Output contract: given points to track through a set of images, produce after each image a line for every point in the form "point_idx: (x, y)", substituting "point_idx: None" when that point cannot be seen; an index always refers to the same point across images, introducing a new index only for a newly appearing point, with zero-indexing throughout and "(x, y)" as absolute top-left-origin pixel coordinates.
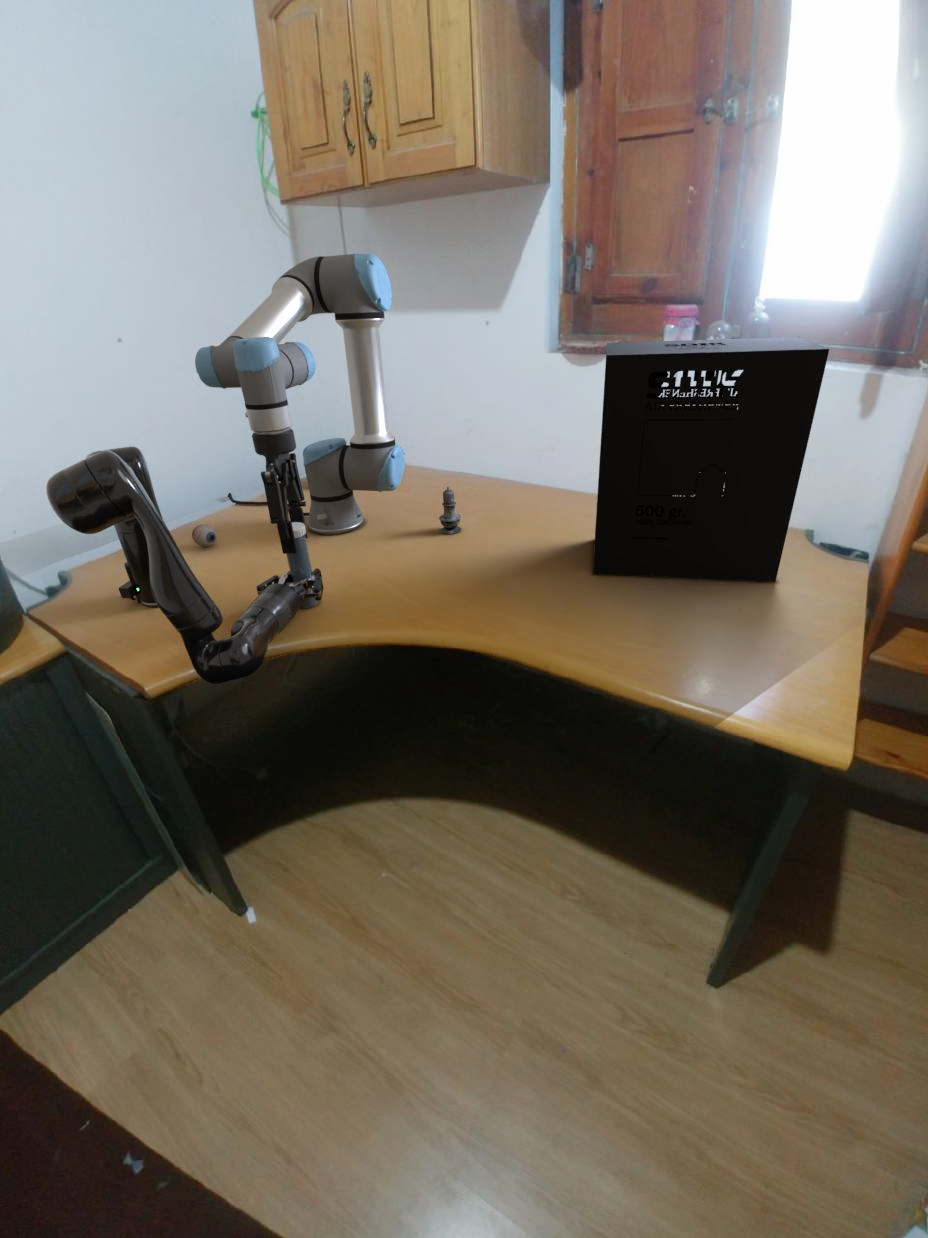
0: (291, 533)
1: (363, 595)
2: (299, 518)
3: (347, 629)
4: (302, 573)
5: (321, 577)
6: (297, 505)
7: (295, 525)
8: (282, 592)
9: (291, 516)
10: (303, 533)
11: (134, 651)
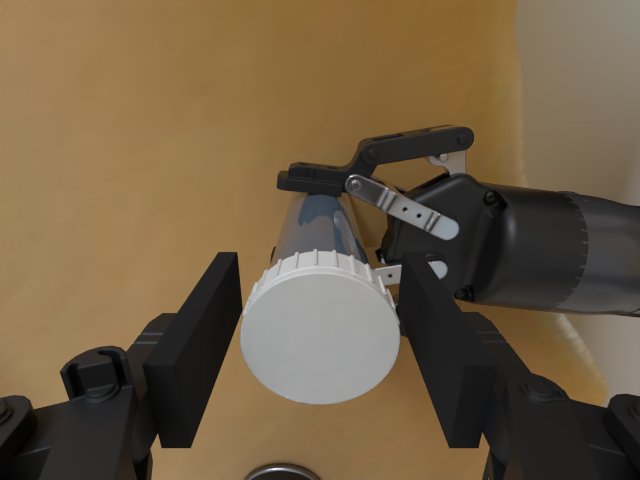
0: (460, 314)
1: (270, 29)
2: (206, 335)
3: (486, 36)
4: (355, 220)
5: (369, 143)
6: (140, 410)
7: (300, 329)
8: (562, 236)
9: (207, 389)
10: (344, 258)
11: (483, 458)
